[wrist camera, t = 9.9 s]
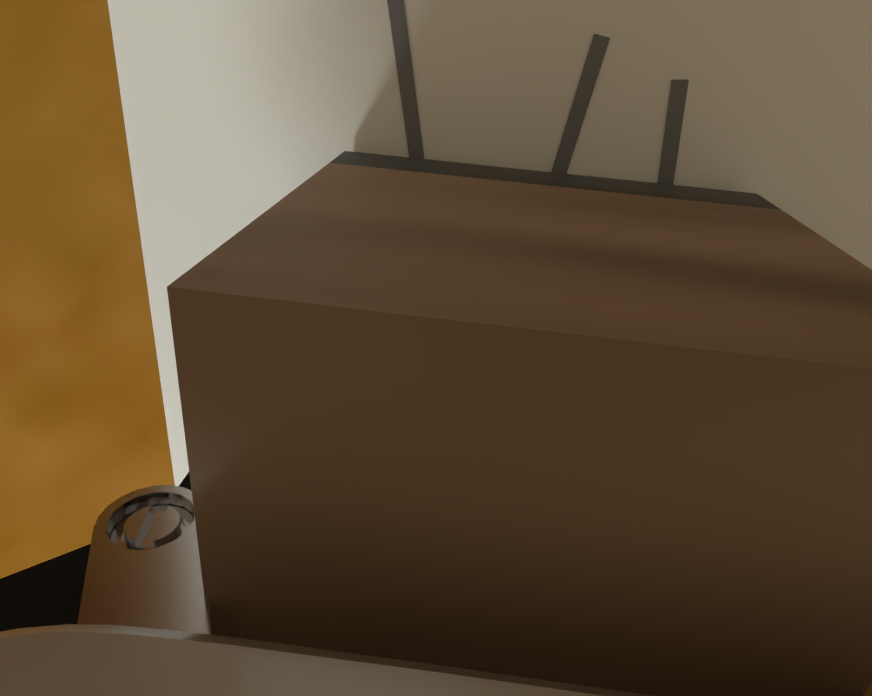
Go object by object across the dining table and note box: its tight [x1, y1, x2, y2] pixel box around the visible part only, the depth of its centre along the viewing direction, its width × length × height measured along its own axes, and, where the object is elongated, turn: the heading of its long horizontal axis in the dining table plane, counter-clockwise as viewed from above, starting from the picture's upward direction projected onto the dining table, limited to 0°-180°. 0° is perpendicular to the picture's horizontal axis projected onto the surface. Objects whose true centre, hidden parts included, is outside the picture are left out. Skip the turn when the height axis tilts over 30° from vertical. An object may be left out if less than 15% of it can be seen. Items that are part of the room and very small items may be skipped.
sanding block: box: [167, 151, 872, 696], centre depth 9 cm, size 9×6×6 cm
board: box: [108, 0, 872, 486], centre depth 11 cm, size 20×14×2 cm
